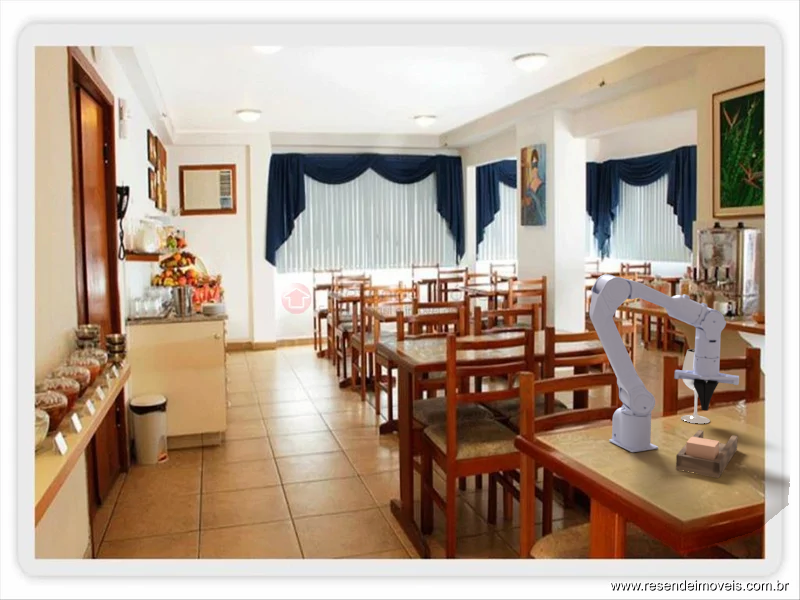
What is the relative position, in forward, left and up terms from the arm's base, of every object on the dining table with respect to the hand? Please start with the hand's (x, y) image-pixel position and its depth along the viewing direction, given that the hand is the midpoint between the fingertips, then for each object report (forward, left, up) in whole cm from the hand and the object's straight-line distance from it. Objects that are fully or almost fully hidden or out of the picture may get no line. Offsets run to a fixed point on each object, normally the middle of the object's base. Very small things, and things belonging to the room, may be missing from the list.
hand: (705, 409), depth 169 cm
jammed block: (+11, -11, -8) cm, 18 cm away
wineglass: (-18, +14, -10) cm, 25 cm away
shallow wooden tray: (+8, -6, -9) cm, 14 cm away
